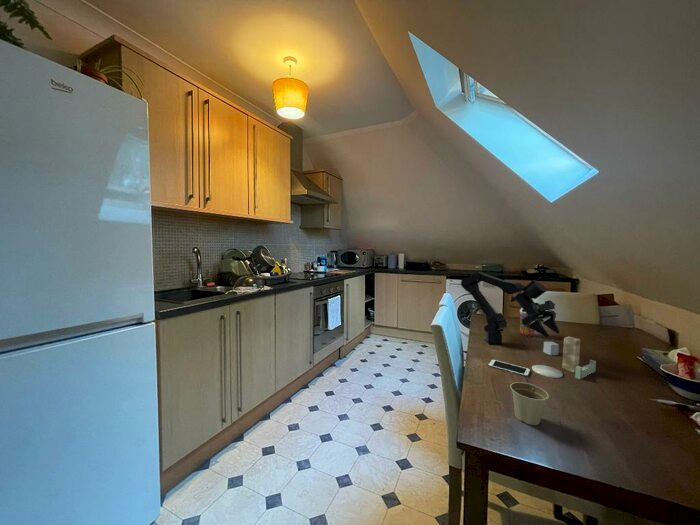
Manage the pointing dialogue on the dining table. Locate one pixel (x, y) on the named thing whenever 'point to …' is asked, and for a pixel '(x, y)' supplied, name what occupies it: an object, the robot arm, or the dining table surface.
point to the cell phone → (509, 368)
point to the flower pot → (528, 402)
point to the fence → (585, 370)
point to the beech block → (571, 353)
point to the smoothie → (524, 329)
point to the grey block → (551, 348)
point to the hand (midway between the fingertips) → (553, 334)
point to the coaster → (547, 371)
